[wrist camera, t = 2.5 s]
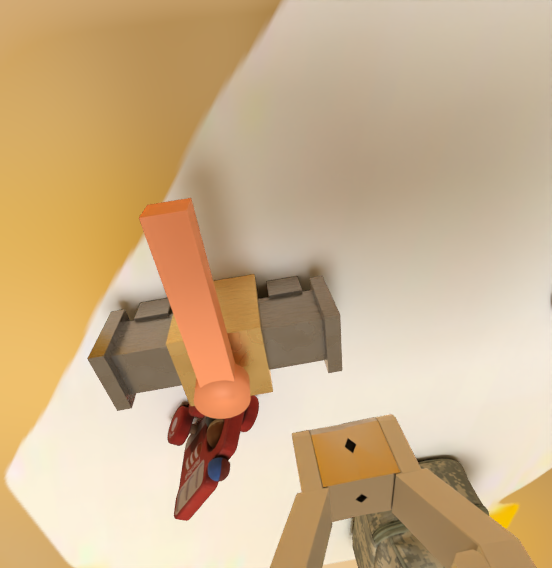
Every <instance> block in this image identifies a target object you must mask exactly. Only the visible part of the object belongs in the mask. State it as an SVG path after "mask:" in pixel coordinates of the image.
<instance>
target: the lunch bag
mask: <svg viewBox="0 0 552 568" xmlns="http://www.w3.org/2000/svg"><path fill="white" fill-rule="evenodd" d="M418 463H419V465H420V467H421V469H424V468H427V469H428V470H430V471H431V472H432V473H434V474H435V475H436V476H437V477H439V478H440V479H441V480H443V481H444V482H445V483H447V484H448V485H449V486H450V487H452V488H453V489H454V490H456V491H457V492H458V493H460V494H461V495H462V496H463V497H465V498H466V499H467V500H469V501H470V502H471V503H473V504H474V505H475V506H476V507H478V508H479V509H480V510H482V511H483V512H484V513H486V514H487V515H488V516H489V512H488V510H487V509H486V507H484V506H483V504H482V503H481V501H480V499H479V498H478V496H477V494H476V493H475V491H474V489H473V487H472V486H471V484H470V482H469V480H468V478H467V476H466V474H465V471H464V469H463V467H462V465H461V464H460V463H459V462H458V461H455V460H452V459H434V460H427V461H422V462H418ZM353 550H354V554H355V558H356V561H357V565H358V568H445V567H444V566H443V565H442V564H441V563H440V562H439V561H438V560H437V559H436V558H435V557H434V556H433V555H432V554H431V553H430V552H429V551H428V550H427V548H426V547H425V546H424V545H423V544H422V543H421V542H420V541H419V540H418V539H417V538H416V537H415V536H414V535H413V534H412V533H411V532H410V531H409V530H408V528H407V527H406V526H405V525H404V524H403V523H402V522H401V521H400V520H399V519H398V518H397V517H396V516H395V515H394V514H393V513H392V510H390V511H384V512H378V513H372V514H366V515H361V516H356V517H355V520H354V528H353Z"/></svg>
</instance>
